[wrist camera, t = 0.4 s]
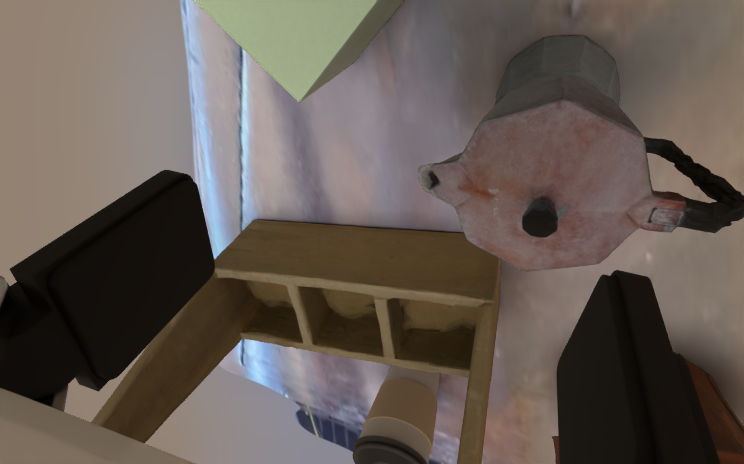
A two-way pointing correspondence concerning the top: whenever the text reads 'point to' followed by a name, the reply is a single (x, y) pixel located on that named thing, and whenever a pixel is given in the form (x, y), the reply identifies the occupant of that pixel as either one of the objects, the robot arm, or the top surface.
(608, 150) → the moka pot
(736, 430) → the case
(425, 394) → the coffee cup
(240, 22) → the lid
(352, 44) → the box
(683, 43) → the top surface
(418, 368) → the caddy
